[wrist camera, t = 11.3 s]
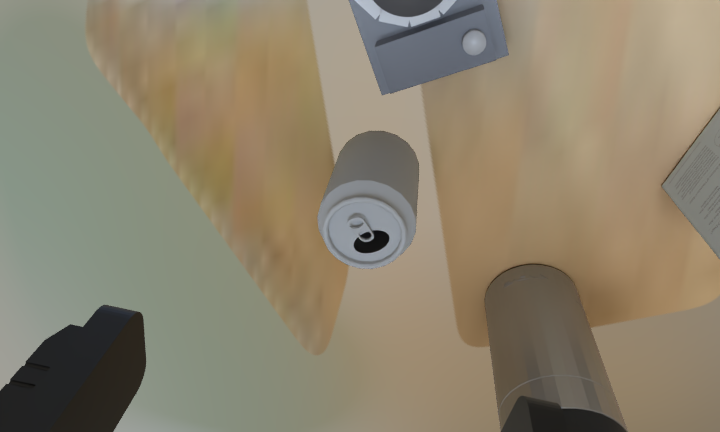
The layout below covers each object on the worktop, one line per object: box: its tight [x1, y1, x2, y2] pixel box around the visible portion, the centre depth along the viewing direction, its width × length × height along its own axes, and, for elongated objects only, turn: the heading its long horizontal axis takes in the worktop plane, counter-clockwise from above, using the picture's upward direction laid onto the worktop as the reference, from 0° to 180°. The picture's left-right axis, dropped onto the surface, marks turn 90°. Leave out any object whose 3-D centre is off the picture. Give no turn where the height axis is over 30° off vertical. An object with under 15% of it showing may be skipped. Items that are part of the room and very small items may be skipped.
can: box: [318, 131, 419, 269], centre depth 43 cm, size 8×8×12 cm
